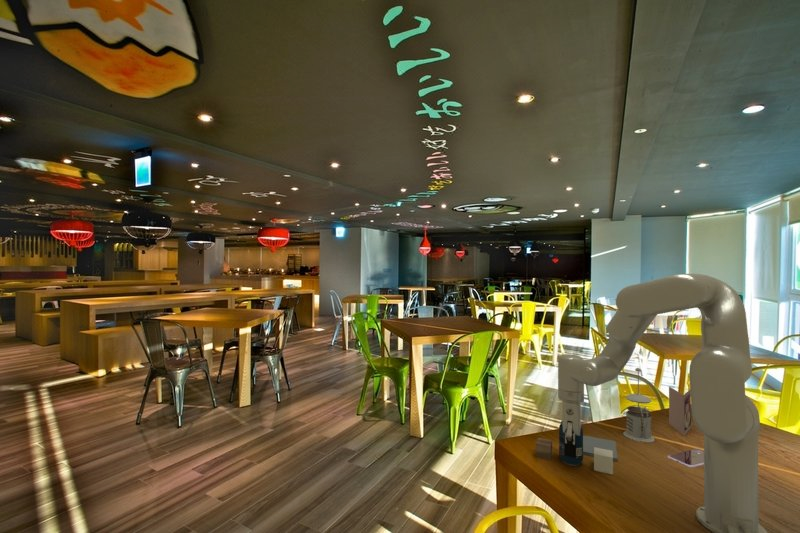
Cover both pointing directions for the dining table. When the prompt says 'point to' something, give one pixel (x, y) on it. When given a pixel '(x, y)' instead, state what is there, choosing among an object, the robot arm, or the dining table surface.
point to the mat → (598, 446)
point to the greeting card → (680, 410)
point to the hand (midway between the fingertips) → (570, 451)
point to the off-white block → (603, 460)
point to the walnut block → (544, 448)
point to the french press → (638, 418)
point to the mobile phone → (689, 458)
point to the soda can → (579, 448)
